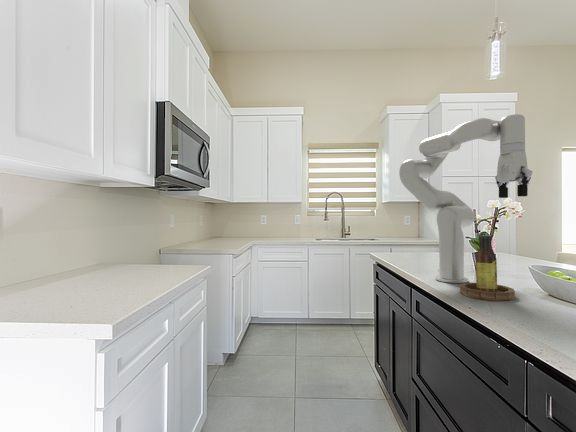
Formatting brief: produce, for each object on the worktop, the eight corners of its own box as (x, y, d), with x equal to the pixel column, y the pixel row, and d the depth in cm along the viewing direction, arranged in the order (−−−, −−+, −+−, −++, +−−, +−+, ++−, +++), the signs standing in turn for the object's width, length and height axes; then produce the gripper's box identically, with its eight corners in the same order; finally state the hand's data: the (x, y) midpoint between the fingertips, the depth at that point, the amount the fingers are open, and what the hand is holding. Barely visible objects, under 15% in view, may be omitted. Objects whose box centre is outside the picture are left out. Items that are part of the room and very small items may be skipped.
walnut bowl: (451, 289, 121) (451, 282, 121) (493, 289, 122) (493, 282, 122) (477, 301, 105) (477, 293, 105) (526, 300, 106) (526, 292, 106)
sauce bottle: (500, 295, 110) (500, 236, 110) (480, 294, 111) (479, 236, 111) (492, 290, 116) (492, 235, 116) (473, 290, 117) (472, 235, 117)
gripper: (487, 154, 127) (487, 198, 127) (519, 145, 110) (519, 195, 110) (506, 154, 127) (506, 198, 127) (541, 145, 110) (541, 195, 110)
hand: (512, 197), depth 119 cm, fingers open, 9 cm apart
